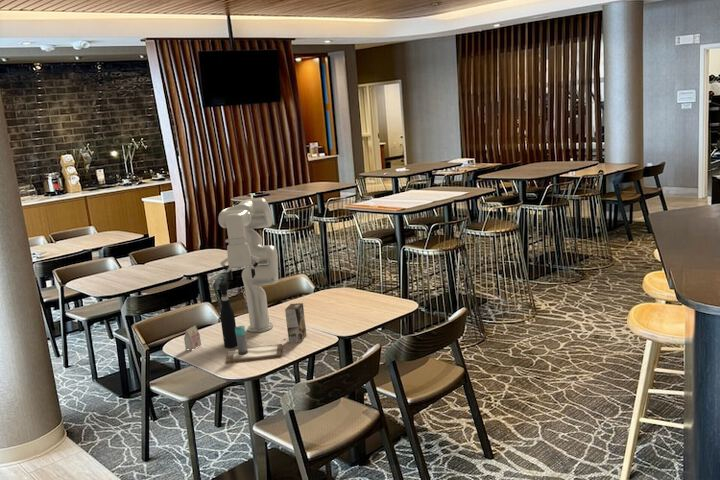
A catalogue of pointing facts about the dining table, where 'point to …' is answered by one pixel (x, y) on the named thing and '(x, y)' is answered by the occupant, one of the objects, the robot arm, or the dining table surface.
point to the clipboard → (255, 353)
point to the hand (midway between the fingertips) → (242, 278)
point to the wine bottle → (227, 319)
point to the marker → (241, 340)
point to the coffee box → (295, 322)
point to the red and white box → (192, 338)
